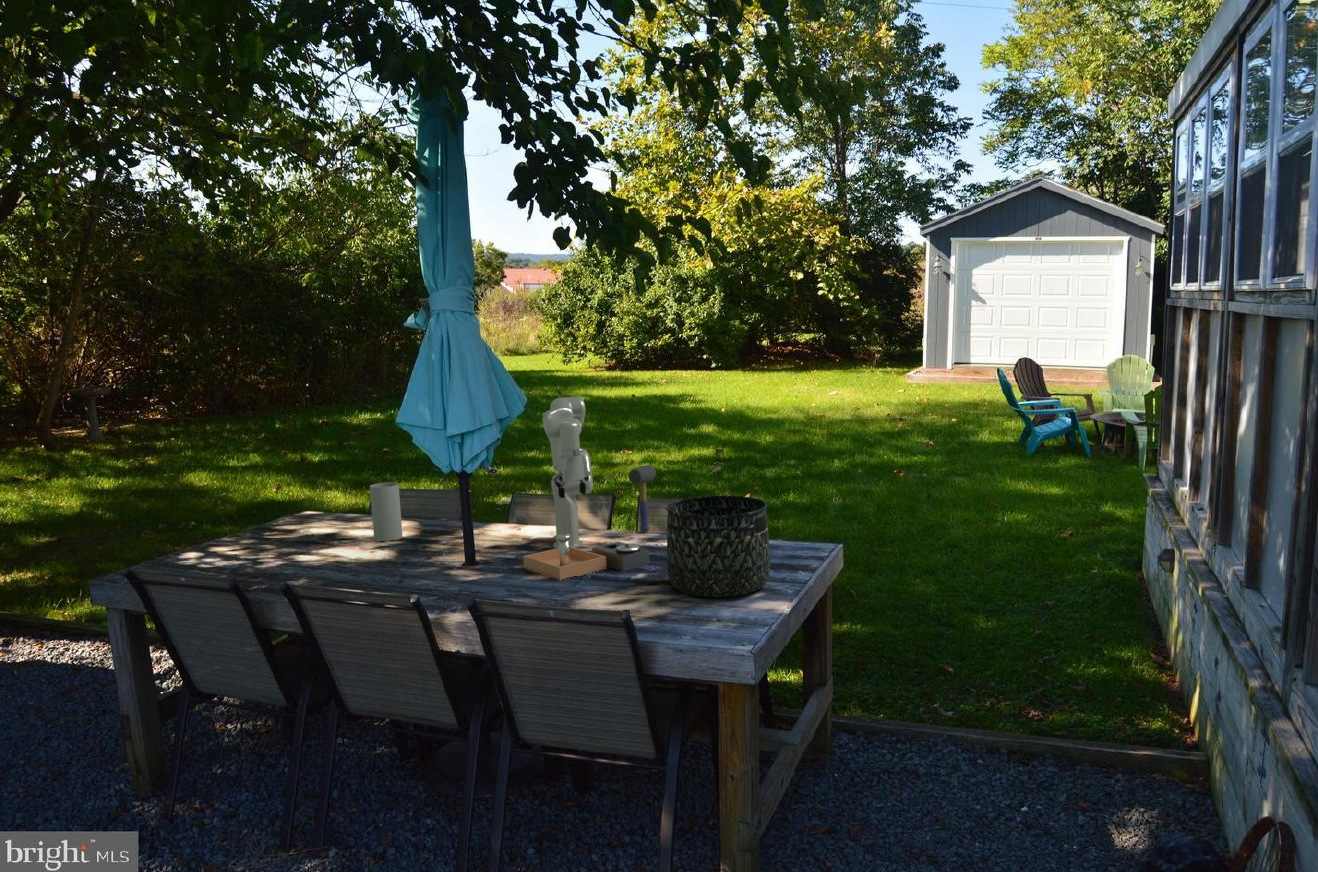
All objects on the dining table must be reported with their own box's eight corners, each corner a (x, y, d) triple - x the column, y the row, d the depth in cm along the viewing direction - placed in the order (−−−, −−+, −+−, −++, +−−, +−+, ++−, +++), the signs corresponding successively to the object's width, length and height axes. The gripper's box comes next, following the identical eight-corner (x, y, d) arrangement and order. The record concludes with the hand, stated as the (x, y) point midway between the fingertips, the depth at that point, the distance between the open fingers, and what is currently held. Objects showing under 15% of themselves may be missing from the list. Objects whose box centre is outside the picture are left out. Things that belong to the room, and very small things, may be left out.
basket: (708, 568, 392) (706, 491, 388) (790, 582, 369) (788, 500, 365) (647, 591, 364) (643, 509, 360) (731, 608, 341) (728, 520, 337)
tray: (523, 568, 403) (523, 555, 403) (569, 557, 417) (568, 545, 416) (560, 580, 384) (559, 567, 383) (606, 569, 397) (605, 556, 396)
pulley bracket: (592, 562, 409) (591, 541, 408) (618, 556, 417) (617, 535, 416) (623, 571, 393) (622, 549, 392) (649, 564, 401) (648, 543, 400)
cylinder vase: (368, 541, 460) (364, 487, 457) (383, 535, 472) (379, 482, 469) (393, 542, 456) (388, 487, 453) (407, 536, 468) (403, 482, 465)
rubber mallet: (643, 536, 450) (641, 468, 446) (630, 534, 454) (627, 467, 450) (659, 530, 460) (657, 464, 456) (645, 528, 464) (643, 463, 460)
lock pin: (555, 566, 401) (553, 535, 399) (566, 563, 404) (565, 532, 402) (563, 568, 396) (561, 537, 395) (574, 566, 400) (573, 534, 398)
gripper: (583, 448, 409) (585, 490, 412) (546, 454, 399) (548, 497, 401) (594, 451, 403) (596, 493, 406) (556, 457, 393) (558, 500, 396)
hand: (572, 495), depth 404 cm, fingers open, 9 cm apart
